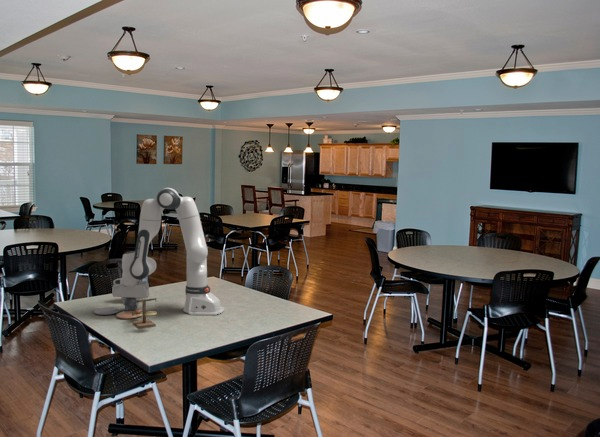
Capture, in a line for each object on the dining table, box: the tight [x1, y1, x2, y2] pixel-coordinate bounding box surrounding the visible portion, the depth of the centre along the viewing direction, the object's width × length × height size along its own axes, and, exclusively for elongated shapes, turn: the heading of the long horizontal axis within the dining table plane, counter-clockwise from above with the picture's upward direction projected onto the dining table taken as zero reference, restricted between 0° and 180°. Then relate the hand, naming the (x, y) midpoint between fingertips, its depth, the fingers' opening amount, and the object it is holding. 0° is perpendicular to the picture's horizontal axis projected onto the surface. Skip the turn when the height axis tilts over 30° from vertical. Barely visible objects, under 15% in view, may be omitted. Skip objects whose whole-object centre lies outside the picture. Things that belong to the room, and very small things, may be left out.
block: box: [124, 298, 138, 311], centre depth 285 cm, size 5×5×6 cm
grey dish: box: [93, 306, 121, 316], centre depth 280 cm, size 13×13×1 cm
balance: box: [131, 297, 158, 330], centre depth 258 cm, size 23×8×15 cm, turn 37°
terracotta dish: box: [116, 310, 141, 320], centre depth 274 cm, size 13×13×1 cm
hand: (131, 305), depth 285 cm, fingers closed on block, 5 cm apart
